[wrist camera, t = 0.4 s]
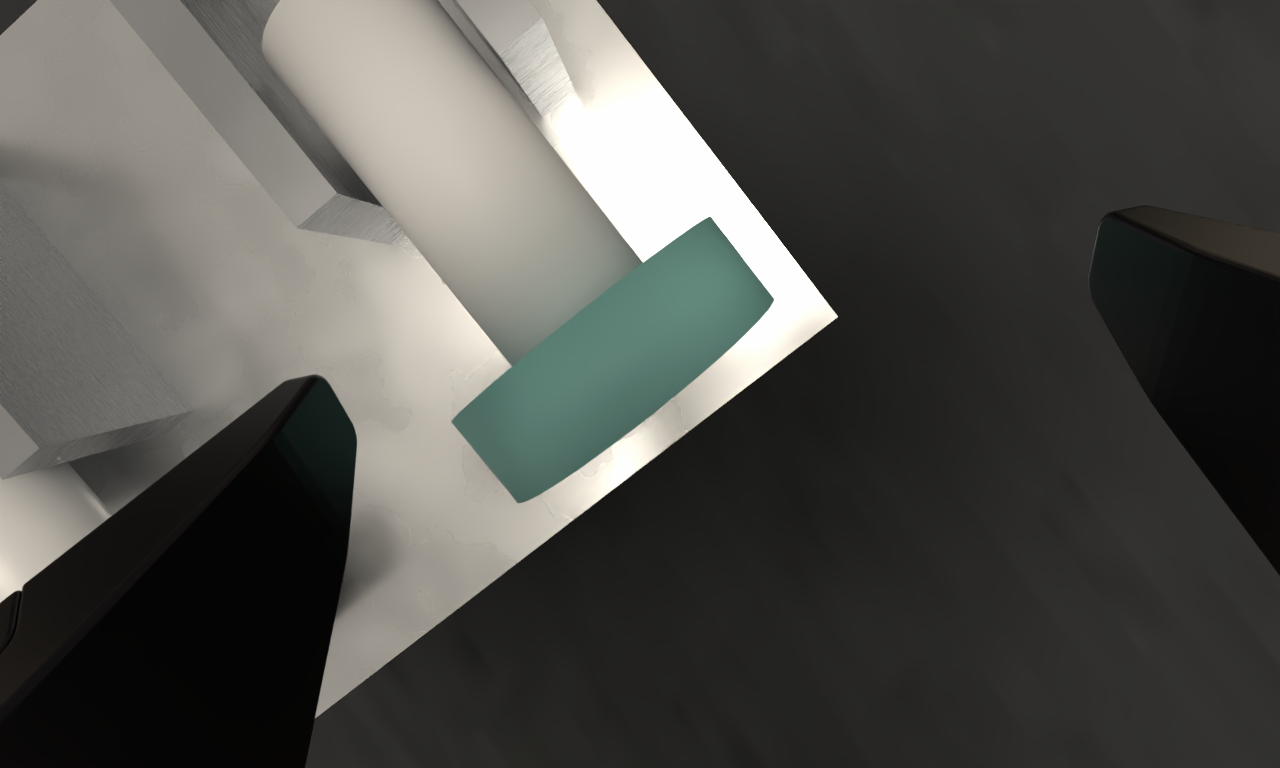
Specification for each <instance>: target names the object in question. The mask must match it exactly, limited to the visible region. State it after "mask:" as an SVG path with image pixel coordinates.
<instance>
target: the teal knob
mask: <svg viewBox="0 0 1280 768" xmlns="http://www.w3.org/2000/svg"><path fill="white" fill-rule="evenodd" d="M262 51H263V55H264V58H265V60H266V62H267V64H268V65H269V66H270V67H271V69H272V70H273V71H274V72H275V74H276V75H277V76H278V77H279V79H280V80H281V81H282V82H283V83H284V85H285V86H286V87H287V88H288V90H289V91H290V92H291V93H292V95H293V96H294V97H295V98H296V100H297V101H298V102H299V103H300V105H301V106H302V107H303V108H304V109H305V111H306V112H307V113H308V114H309V116H310V117H311V118H312V119H313V121H314V122H315V123H316V124H317V126H318V127H319V128H320V129H321V131H322V132H323V133H324V134H325V135H326V137H327V138H328V139H329V140H330V142H331V143H332V144H333V145H334V147H335V148H336V149H337V150H338V152H339V153H340V154H341V155H342V157H343V158H344V159H345V160H346V161H347V163H348V164H349V165H350V166H351V168H352V169H353V170H354V171H355V173H356V174H357V175H358V176H359V178H360V179H361V180H362V181H363V183H364V184H365V185H366V186H367V187H368V189H369V190H370V191H371V192H372V194H373V195H374V196H375V197H376V199H377V200H378V201H379V202H380V204H381V205H382V206H383V207H384V209H385V210H386V211H387V212H388V214H389V215H390V216H391V217H392V218H393V220H394V221H395V222H396V223H397V225H398V226H399V227H400V228H401V230H402V231H403V232H404V233H405V235H406V236H407V237H408V238H409V240H410V241H411V242H412V243H413V244H414V246H415V247H416V248H417V249H418V251H419V252H420V253H421V254H422V256H423V257H424V258H425V259H426V261H427V262H428V263H429V264H430V266H431V267H432V268H433V269H434V270H435V272H436V273H437V274H438V275H439V277H440V278H441V279H442V280H443V282H444V283H445V284H446V285H447V287H448V288H449V289H450V290H451V292H452V293H453V294H454V295H455V296H456V298H457V299H458V300H459V301H460V303H461V304H462V305H463V306H464V308H465V309H466V310H467V311H468V313H469V314H470V315H471V316H472V318H473V319H474V320H475V321H476V322H477V324H478V325H479V326H480V327H481V329H482V330H483V331H484V332H485V334H486V335H487V336H488V337H489V339H490V340H491V341H492V342H493V344H494V345H495V346H496V347H497V349H498V350H499V351H500V352H501V353H502V355H503V356H504V357H505V358H506V360H507V361H508V362H509V363H510V365H511V366H512V367H511V368H509V369H508V370H507V371H506V372H505V373H504V374H502V375H501V376H500V377H499V378H498V379H496V380H495V381H494V382H493V383H492V384H491V385H489V386H488V387H487V388H486V389H485V390H484V391H482V392H481V393H480V394H479V395H478V396H477V397H476V398H474V399H473V400H472V401H471V402H470V403H469V404H468V405H467V406H466V407H465V408H463V409H462V410H461V411H460V412H459V413H458V414H457V415H456V416H455V417H454V418H453V420H452V421H451V422H452V424H453V425H454V426H455V427H456V428H457V430H458V431H459V432H460V433H461V435H462V436H463V437H464V438H465V439H466V441H467V442H468V443H469V444H470V445H471V447H472V448H473V449H474V450H475V452H476V453H477V454H478V455H479V456H480V458H481V459H482V460H483V461H484V463H485V464H486V465H487V466H488V467H489V469H490V470H491V471H492V472H493V474H494V475H495V476H496V477H497V478H498V480H499V481H500V482H501V483H502V485H503V486H504V487H505V488H506V489H507V491H508V492H509V493H510V494H511V495H512V497H513V498H514V499H515V500H516V502H517V503H523V502H526V501H528V500H530V499H532V498H534V497H536V496H538V495H540V494H541V493H543V492H545V491H547V490H548V489H550V488H551V487H553V486H555V485H556V484H558V483H559V482H561V481H562V480H564V479H565V478H567V477H568V476H570V475H571V474H573V473H574V472H576V471H577V470H579V469H580V468H581V467H583V466H584V465H586V464H587V463H588V462H590V461H591V460H593V459H594V458H595V457H597V456H598V455H600V454H601V453H602V452H604V451H605V450H606V449H608V448H609V447H610V446H612V445H613V444H615V443H616V442H617V441H619V440H620V439H621V438H623V437H624V436H625V435H626V434H628V433H629V432H630V431H632V430H633V429H634V428H636V427H637V426H638V425H639V424H641V423H642V422H643V421H645V420H646V419H647V418H648V417H650V416H651V415H652V414H653V413H655V412H656V411H657V410H659V409H660V408H661V407H662V406H663V405H665V404H666V403H667V402H668V401H670V400H671V399H672V398H673V397H675V396H676V395H677V394H678V393H679V392H681V391H682V390H683V389H684V388H685V387H687V386H688V385H689V384H690V383H691V382H693V381H694V380H695V379H696V378H697V377H699V376H700V375H701V374H702V373H703V372H704V371H706V370H707V369H708V368H709V367H710V366H711V365H712V364H714V363H715V362H716V361H717V360H718V359H719V358H720V357H722V356H723V355H724V354H725V353H726V352H727V351H728V350H729V349H730V348H732V347H733V346H734V345H735V344H736V343H737V342H738V341H739V340H740V339H741V338H742V337H743V336H744V335H745V334H746V333H747V332H748V331H749V330H750V329H751V328H752V327H753V326H754V325H755V324H756V323H757V322H758V321H759V320H760V319H761V318H762V317H763V316H764V315H765V314H766V312H767V311H768V310H769V309H770V307H771V306H772V304H773V302H774V298H773V297H772V295H771V294H770V293H769V291H768V290H767V289H766V287H765V286H764V285H763V284H762V282H761V281H760V280H759V278H758V277H757V276H756V274H755V273H754V272H753V271H752V269H751V268H750V267H749V265H748V264H747V263H746V261H745V260H744V259H743V258H742V256H741V255H740V254H739V252H738V251H737V250H736V248H735V247H734V246H733V245H732V243H731V242H730V241H729V239H728V238H727V237H726V235H725V234H724V233H723V232H722V230H721V229H720V228H719V226H718V225H717V224H716V222H715V221H714V220H713V219H712V217H711V216H709V217H707V218H705V219H703V220H702V221H700V222H699V223H697V224H696V225H694V226H693V227H691V228H690V229H688V230H687V231H685V232H684V233H683V234H681V235H680V236H678V237H677V238H676V239H674V240H673V241H671V242H670V243H669V244H667V245H666V246H665V247H663V248H662V249H660V250H659V251H658V252H656V253H655V254H654V255H652V256H651V257H650V258H648V259H647V260H646V261H644V262H642V261H641V259H640V258H639V257H638V256H637V254H636V253H635V252H634V250H633V249H632V248H631V247H630V245H629V244H628V243H627V242H626V240H625V239H624V238H623V236H622V235H621V234H620V233H619V231H618V230H617V229H616V227H615V226H614V225H613V224H612V222H611V221H610V220H609V219H608V217H607V216H606V215H605V213H604V212H603V211H602V210H601V208H600V207H599V206H598V204H597V203H596V202H595V201H594V199H593V198H592V197H591V195H590V194H589V193H588V192H587V190H586V189H585V188H584V187H583V185H582V184H581V183H580V181H579V180H578V179H577V178H576V176H575V175H574V174H573V172H572V171H571V170H570V169H569V167H568V166H567V165H566V164H565V162H564V161H563V160H562V158H561V157H560V156H559V155H558V153H557V152H556V151H555V149H554V148H553V147H552V146H551V144H550V143H549V142H548V140H547V139H546V138H545V137H544V135H543V134H542V133H541V132H540V130H539V129H538V128H537V126H536V125H535V124H534V123H533V121H532V120H531V119H530V117H529V116H528V115H527V114H526V112H525V111H524V110H523V109H522V107H521V106H520V105H519V103H518V102H517V101H516V100H515V98H514V97H513V96H512V94H511V93H510V92H509V91H508V89H507V88H506V87H505V85H504V84H503V83H502V82H501V80H500V79H499V78H498V77H497V75H496V74H495V73H494V71H493V70H492V69H491V68H490V66H489V65H488V64H487V62H486V61H485V60H484V59H483V57H482V56H481V55H480V54H479V52H478V51H477V50H476V48H475V47H474V46H473V45H472V43H471V42H470V41H469V39H468V38H467V37H466V36H465V34H464V33H463V32H462V31H461V29H460V28H459V27H458V25H457V24H456V23H455V22H454V20H453V19H452V18H451V16H450V15H449V14H448V13H447V11H446V10H445V9H444V7H443V6H442V5H441V4H440V2H439V1H438V0H280V1H279V3H278V4H277V5H276V7H275V8H274V10H273V12H272V14H271V15H270V17H269V19H268V22H267V24H266V26H265V30H264V33H263V39H262Z"/></svg>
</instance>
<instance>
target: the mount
mask: <svg viewBox="0 0 1280 768" xmlns="http://www.w3.org/2000/svg"><path fill="white" fill-rule="evenodd" d="M279 1H280V0H38V1H37V2H36V3H34V4H33V5H32V6H31V7H30V8H29V9H28V10H27V11H26V12H25V13H24V14H23V15H22V16H21V17H20V18H19V19H17V20H16V21H15V22H14V23H13V24H12V25H11V26H10V27H9V28H8V29H7V30H6V31H5V32H4V33H3V34H1V35H0V477H1V478H2V480H4V479H8V478H11V477H15V476H18V475H22V474H26V473H29V472H33V471H36V470H40V469H43V468H47V467H50V466H54V465H58V464H61V463H65V462H68V463H69V465H70V466H71V467H72V468H73V469H74V470H75V471H76V473H77V474H78V475H79V476H80V477H81V478H82V479H83V481H84V482H85V483H86V484H87V485H88V486H89V487H90V489H91V490H92V491H93V492H94V493H95V494H96V496H97V497H98V498H99V499H100V500H101V501H102V502H103V504H104V505H105V506H106V507H107V508H108V509H109V510H110V512H111V513H112V514H115V513H116V512H117V511H118V510H120V509H121V508H122V507H124V506H125V505H126V504H127V503H129V502H130V501H131V500H132V499H134V498H135V497H136V496H138V495H139V494H140V493H141V492H143V491H144V490H145V489H147V488H148V487H149V486H150V485H152V484H153V483H154V482H156V481H157V480H158V479H159V478H161V477H162V476H163V475H165V474H166V473H167V472H168V471H170V470H171V469H172V468H173V467H175V466H176V465H177V464H179V463H180V462H181V461H182V460H184V459H185V458H186V457H188V456H189V455H190V454H191V453H193V452H194V451H195V450H197V449H198V448H199V447H200V446H202V445H203V444H204V443H205V442H207V441H208V440H209V439H211V438H212V437H213V436H214V435H216V434H217V433H218V432H220V431H221V430H222V429H223V428H225V427H226V426H227V425H229V424H230V423H231V422H232V421H234V420H235V419H236V418H238V417H239V416H240V415H241V414H243V413H244V412H245V411H246V410H248V409H249V408H250V407H252V406H253V405H254V404H255V403H257V402H258V401H259V400H261V399H262V398H263V397H264V396H266V395H267V394H268V393H270V392H271V391H272V390H273V389H275V388H276V387H277V386H278V385H280V384H281V383H282V382H284V381H286V380H289V379H293V378H298V377H303V376H308V375H313V374H318V375H320V376H323V377H324V378H325V379H326V380H327V381H328V382H329V384H330V385H331V387H332V388H333V390H334V392H335V394H336V395H337V397H338V399H339V401H340V402H341V404H342V406H343V408H344V409H345V411H346V413H347V414H348V416H349V418H350V420H351V421H352V423H353V425H354V428H355V431H356V436H357V453H356V466H355V478H354V491H353V504H352V516H351V529H350V539H349V548H348V555H347V561H346V566H345V572H344V577H343V582H342V587H341V592H340V597H339V601H338V606H337V611H336V616H335V621H334V626H333V631H332V636H331V641H330V646H329V651H328V656H327V661H326V666H325V671H324V676H323V681H322V686H321V690H320V695H319V700H318V705H317V710H316V715H315V718H316V717H317V716H319V715H320V714H321V713H323V712H324V711H325V710H327V709H328V708H329V707H330V706H332V705H333V704H334V703H336V702H337V701H338V700H340V699H341V698H342V697H343V696H345V695H346V694H347V693H349V692H350V691H351V690H353V689H354V688H355V687H357V686H358V685H359V684H360V683H362V682H363V681H364V680H366V679H367V678H368V677H370V676H371V675H372V674H373V673H375V672H376V671H377V670H379V669H380V668H381V667H383V666H384V665H385V664H386V663H388V662H389V661H390V660H392V659H393V658H394V657H396V656H397V655H398V654H399V653H401V652H402V651H403V650H405V649H406V648H407V647H409V646H410V645H411V644H413V643H414V642H415V641H416V640H418V639H419V638H420V637H422V636H423V635H424V634H426V633H427V632H428V631H429V630H431V629H432V628H433V627H435V626H436V625H437V624H439V623H440V622H441V621H442V620H444V619H445V618H446V617H448V616H449V615H450V614H452V613H453V612H454V611H455V610H457V609H458V608H459V607H461V606H462V605H463V604H465V603H466V602H467V601H469V600H470V599H471V598H472V597H474V596H475V595H476V594H478V593H479V592H480V591H482V590H483V589H484V588H485V587H487V586H488V585H489V584H491V583H492V582H493V581H495V580H496V579H497V578H498V577H500V576H501V575H502V574H504V573H505V572H506V571H508V570H509V569H510V568H511V567H513V566H514V565H515V564H517V563H518V562H519V561H521V560H522V559H523V558H525V557H526V556H527V555H528V554H530V553H531V552H532V551H534V550H535V549H536V548H538V547H539V546H540V545H541V544H543V543H544V542H545V541H547V540H548V539H549V538H551V537H552V536H553V535H554V534H556V533H557V532H558V531H560V530H561V529H562V528H564V527H565V526H566V525H567V524H569V523H570V522H571V521H573V520H574V519H575V518H577V517H578V516H579V515H581V514H582V513H583V512H584V511H586V510H587V509H588V508H590V507H591V506H592V505H594V504H595V503H596V502H597V501H599V500H600V499H601V498H603V497H604V496H605V495H607V494H608V493H609V492H610V491H612V490H613V489H614V488H616V487H617V486H618V485H620V484H621V483H622V482H623V481H625V480H626V479H627V478H629V477H630V476H631V475H633V474H634V473H635V472H637V471H638V470H639V469H640V468H642V467H643V466H644V465H646V464H647V463H648V462H650V461H651V460H652V459H653V458H655V457H656V456H657V455H659V454H660V453H661V452H663V451H664V450H665V449H666V448H668V447H669V446H670V445H672V444H673V443H674V442H676V441H677V440H678V439H680V438H681V437H682V436H683V435H685V434H686V433H687V432H689V431H690V430H691V429H693V428H694V427H695V426H696V425H698V424H699V423H700V422H702V421H703V420H704V419H706V418H707V417H708V416H709V415H711V414H712V413H713V412H715V411H716V410H717V409H719V408H720V407H721V406H722V405H724V404H725V403H726V402H728V401H729V400H730V399H732V398H733V397H734V396H736V395H737V394H738V393H739V392H741V391H742V390H743V389H745V388H746V387H747V386H749V385H750V384H751V383H752V382H754V381H755V380H756V379H758V378H759V377H760V376H762V375H763V374H764V373H765V372H767V371H768V370H769V369H771V368H772V367H773V366H775V365H776V364H777V363H778V362H780V361H781V360H782V359H784V358H785V357H786V356H788V355H789V354H790V353H792V352H793V351H794V350H795V349H797V348H798V347H799V346H801V345H802V344H803V343H805V342H806V341H807V340H808V339H810V338H811V337H812V336H814V335H815V334H816V333H818V332H819V331H820V330H821V329H823V328H824V327H825V326H827V325H828V324H829V323H831V322H832V321H833V320H834V319H836V318H837V317H838V316H837V315H836V314H835V312H834V311H833V310H832V308H831V307H830V306H829V304H828V303H827V302H826V300H825V299H824V298H823V297H822V295H821V294H820V293H819V291H818V290H817V289H816V287H815V286H814V285H813V283H812V282H811V281H810V280H809V278H808V277H807V276H806V274H805V273H804V272H803V270H802V269H801V268H800V266H799V265H798V264H797V262H796V261H795V260H794V259H793V257H792V256H791V255H790V253H789V252H788V251H787V249H786V248H785V247H784V245H783V244H782V243H781V242H780V240H779V239H778V238H777V236H776V235H775V234H774V232H773V231H772V230H771V228H770V227H769V226H768V225H767V223H766V222H765V221H764V219H763V218H762V217H761V215H760V214H759V213H758V211H757V210H756V209H755V207H754V206H753V205H752V204H751V202H750V201H749V200H748V198H747V197H746V196H745V194H744V193H743V192H742V190H741V189H740V188H739V187H738V185H737V184H736V183H735V181H734V180H733V179H732V177H731V176H730V175H729V173H728V172H727V171H726V170H725V168H724V167H723V166H722V164H721V163H720V162H719V160H718V159H717V158H716V156H715V155H714V154H713V152H712V151H711V150H710V149H709V147H708V146H707V145H706V143H705V142H704V141H703V139H702V138H701V137H700V135H699V134H698V133H697V132H696V130H695V129H694V128H693V126H692V125H691V124H690V122H689V121H688V120H687V118H686V117H685V116H684V115H683V113H682V112H681V111H680V109H679V108H678V107H677V105H676V104H675V103H674V101H673V100H672V99H671V97H670V96H669V95H668V94H667V92H666V91H665V90H664V88H663V87H662V86H661V84H660V83H659V82H658V80H657V79H656V78H655V77H654V75H653V74H652V73H651V71H650V70H649V69H648V67H647V66H646V65H645V63H644V62H643V61H642V60H641V58H640V57H639V56H638V54H637V53H636V52H635V50H634V49H633V48H632V46H631V45H630V44H629V42H628V41H627V40H626V39H625V37H624V36H623V35H622V33H621V32H620V31H619V29H618V28H617V27H616V25H615V24H614V23H613V22H612V20H611V19H610V18H609V16H608V15H607V14H606V12H605V11H604V10H603V8H602V7H601V6H600V5H599V3H598V2H597V1H596V0H438V1H439V2H440V4H441V5H442V6H443V7H444V9H445V10H446V11H447V13H448V14H449V15H450V16H451V18H452V19H453V20H454V22H455V23H456V24H457V25H458V27H459V28H460V29H461V31H462V32H463V33H464V34H465V36H466V37H467V38H468V39H469V41H470V42H471V43H472V45H473V46H474V47H475V48H476V50H477V51H478V52H479V54H480V55H481V56H482V57H483V59H484V60H485V61H486V62H487V64H488V65H489V66H490V68H491V69H492V70H493V71H494V73H495V74H496V75H497V77H498V78H499V79H500V80H501V82H502V83H503V84H504V85H505V87H506V88H507V89H508V91H509V92H510V93H511V94H512V96H513V97H514V98H515V100H516V101H517V102H518V103H519V105H520V106H521V107H522V109H523V110H524V111H525V112H526V114H527V115H528V116H529V117H530V119H531V120H532V121H533V123H534V124H535V125H536V126H537V128H538V129H539V130H540V132H541V133H542V134H543V135H544V137H545V138H546V139H547V140H548V142H549V143H550V144H551V146H552V147H553V148H554V149H555V151H556V152H557V153H558V155H559V156H560V157H561V158H562V160H563V161H564V162H565V164H566V165H567V166H568V167H569V169H570V170H571V171H572V172H573V174H574V175H575V176H576V178H577V179H578V180H579V181H580V183H581V184H582V185H583V187H584V188H585V189H586V190H587V192H588V193H589V194H590V195H591V197H592V198H593V199H594V201H595V202H596V203H597V204H598V206H599V207H600V208H601V210H602V211H603V212H604V213H605V215H606V216H607V217H608V219H609V220H610V221H611V222H612V224H613V225H614V226H615V227H616V229H617V230H618V231H619V233H620V234H621V235H622V236H623V238H624V239H625V240H626V242H627V243H628V244H629V245H630V247H631V248H632V249H633V250H634V252H635V253H636V254H637V256H638V257H639V258H640V259H641V261H642V262H644V261H646V260H647V259H648V258H650V257H651V256H652V255H654V254H655V253H656V252H658V251H659V250H660V249H662V248H663V247H665V246H666V245H667V244H669V243H670V242H671V241H673V240H674V239H676V238H677V237H678V236H680V235H681V234H683V233H684V232H685V231H687V230H688V229H690V228H691V227H693V226H694V225H696V224H697V223H699V222H700V221H702V220H703V219H705V218H707V217H709V216H711V217H712V219H713V220H714V221H715V222H716V224H717V225H718V226H719V228H720V229H721V230H722V232H723V233H724V234H725V235H726V237H727V238H728V239H729V241H730V242H731V243H732V245H733V246H734V247H735V248H736V250H737V251H738V252H739V254H740V255H741V256H742V258H743V259H744V260H745V261H746V263H747V264H748V265H749V267H750V268H751V269H752V271H753V272H754V273H755V274H756V276H757V277H758V278H759V280H760V281H761V282H762V284H763V285H764V286H765V287H766V289H767V290H768V291H769V293H770V294H771V295H772V297H773V298H774V302H773V304H772V306H771V307H770V309H769V310H768V311H767V312H766V314H765V315H764V316H763V317H762V318H761V319H760V320H759V321H758V322H757V323H756V324H755V325H754V326H753V327H752V328H751V329H750V330H749V331H748V332H747V333H746V334H745V335H744V336H743V337H742V338H741V339H740V340H739V341H738V342H737V343H736V344H735V345H734V346H733V347H732V348H730V349H729V350H728V351H727V352H726V353H725V354H724V355H723V356H722V357H720V358H719V359H718V360H717V361H716V362H715V363H714V364H712V365H711V366H710V367H709V368H708V369H707V370H706V371H704V372H703V373H702V374H701V375H700V376H699V377H697V378H696V379H695V380H694V381H693V382H691V383H690V384H689V385H688V386H687V387H685V388H684V389H683V390H682V391H681V392H679V393H678V394H677V395H676V396H675V397H673V398H672V399H671V400H670V401H668V402H667V403H666V404H665V405H663V406H662V407H661V408H660V409H659V410H657V411H656V412H655V413H653V414H652V415H651V416H650V417H648V418H647V419H646V420H645V421H643V422H642V423H641V424H639V425H638V426H637V427H636V428H634V429H633V430H632V431H630V432H629V433H628V434H626V435H625V436H624V437H623V438H621V439H620V440H619V441H617V442H616V443H615V444H613V445H612V446H610V447H609V448H608V449H606V450H605V451H604V452H602V453H601V454H600V455H598V456H597V457H595V458H594V459H593V460H591V461H590V462H588V463H587V464H586V465H584V466H583V467H581V468H580V469H579V470H577V471H576V472H574V473H573V474H571V475H570V476H568V477H567V478H565V479H564V480H562V481H561V482H559V483H558V484H556V485H555V486H553V487H551V488H550V489H548V490H547V491H545V492H543V493H541V494H540V495H538V496H536V497H534V498H532V499H530V500H528V501H526V502H523V503H517V502H516V500H515V499H514V498H513V497H512V495H511V494H510V493H509V492H508V491H507V489H506V488H505V487H504V486H503V485H502V483H501V482H500V481H499V480H498V478H497V477H496V476H495V475H494V474H493V472H492V471H491V470H490V469H489V467H488V466H487V465H486V464H485V463H484V461H483V460H482V459H481V458H480V456H479V455H478V454H477V453H476V452H475V450H474V449H473V448H472V447H471V445H470V444H469V443H468V442H467V441H466V439H465V438H464V437H463V436H462V435H461V433H460V432H459V431H458V430H457V428H456V427H455V426H454V425H453V424H452V422H451V421H452V420H453V418H454V417H455V416H456V415H457V414H458V413H459V412H460V411H461V410H462V409H463V408H465V407H466V406H467V405H468V404H469V403H470V402H471V401H472V400H473V399H474V398H476V397H477V396H478V395H479V394H480V393H481V392H482V391H484V390H485V389H486V388H487V387H488V386H489V385H491V384H492V383H493V382H494V381H495V380H496V379H498V378H499V377H500V376H501V375H502V374H504V373H505V372H506V371H507V370H508V369H509V368H511V367H512V366H511V365H510V363H509V362H508V361H507V360H506V358H505V357H504V356H503V355H502V353H501V352H500V351H499V350H498V349H497V347H496V346H495V345H494V344H493V342H492V341H491V340H490V339H489V337H488V336H487V335H486V334H485V332H484V331H483V330H482V329H481V327H480V326H479V325H478V324H477V322H476V321H475V320H474V319H473V318H472V316H471V315H470V314H469V313H468V311H467V310H466V309H465V308H464V306H463V305H462V304H461V303H460V301H459V300H458V299H457V298H456V296H455V295H454V294H453V293H452V292H451V290H450V289H449V288H448V287H447V285H446V284H445V283H444V282H443V280H442V279H441V278H440V277H439V275H438V274H437V273H436V272H435V270H434V269H433V268H432V267H431V266H430V264H429V263H428V262H427V261H426V259H425V258H424V257H423V256H422V254H421V253H420V252H419V251H418V249H417V248H416V247H415V246H414V244H413V243H412V242H411V241H410V240H409V238H408V237H407V236H406V235H405V233H404V232H403V231H402V230H401V228H400V227H399V226H398V225H397V223H396V222H395V221H394V220H393V218H392V217H391V216H390V215H389V214H388V212H387V211H386V210H385V209H384V207H383V206H382V205H381V204H380V202H379V201H378V200H377V199H376V197H375V196H374V195H373V194H372V192H371V191H370V190H369V189H368V187H367V186H366V185H365V184H364V183H363V181H362V180H361V179H360V178H359V176H358V175H357V174H356V173H355V171H354V170H353V169H352V168H351V166H350V165H349V164H348V163H347V161H346V160H345V159H344V158H343V157H342V155H341V154H340V153H339V152H338V150H337V149H336V148H335V147H334V145H333V144H332V143H331V142H330V140H329V139H328V138H327V137H326V135H325V134H324V133H323V132H322V131H321V129H320V128H319V127H318V126H317V124H316V123H315V122H314V121H313V119H312V118H311V117H310V116H309V114H308V113H307V112H306V111H305V109H304V108H303V107H302V106H301V105H300V103H299V102H298V101H297V100H296V98H295V97H294V96H293V95H292V93H291V92H290V91H289V90H288V88H287V87H286V86H285V85H284V83H283V82H282V81H281V80H280V79H279V77H278V76H277V75H276V74H275V72H274V71H273V70H272V69H271V67H270V66H269V65H268V64H267V62H266V60H265V58H264V55H263V51H262V39H263V33H264V30H265V26H266V24H267V22H268V19H269V17H270V15H271V14H272V12H273V10H274V8H275V7H276V5H277V4H278V3H279Z"/></svg>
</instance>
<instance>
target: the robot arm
mask: <svg viewBox="0 0 1280 768" xmlns="http://www.w3.org/2000/svg"><path fill="white" fill-rule="evenodd" d="M1088 288H1089V293H1090V296H1091V298H1092V301H1093V303H1094V304H1095V306H1096V308H1097V310H1098V311H1099V313H1100V315H1101V317H1102V318H1103V320H1104V322H1105V324H1106V325H1107V327H1108V329H1109V331H1110V332H1111V334H1112V336H1113V338H1114V339H1115V341H1116V343H1117V345H1118V346H1119V348H1120V350H1121V352H1122V353H1123V355H1124V357H1125V359H1126V360H1127V362H1128V364H1129V366H1130V368H1131V369H1132V371H1133V373H1134V375H1135V376H1136V378H1137V380H1138V382H1139V383H1140V385H1141V387H1142V388H1143V390H1144V391H1145V393H1146V395H1147V396H1148V398H1149V400H1150V401H1151V403H1152V404H1153V406H1154V407H1155V408H1156V410H1157V411H1158V413H1159V414H1160V416H1161V417H1162V418H1163V420H1164V421H1165V422H1166V424H1167V425H1168V426H1169V428H1170V429H1171V431H1172V432H1173V433H1174V435H1175V436H1176V437H1177V439H1178V440H1179V441H1180V443H1181V444H1182V445H1183V447H1184V448H1185V449H1186V451H1187V452H1188V453H1189V455H1190V456H1191V457H1192V459H1193V460H1194V461H1195V463H1196V464H1197V465H1198V467H1199V468H1200V469H1201V471H1202V472H1203V473H1204V475H1205V476H1206V477H1207V479H1208V480H1209V481H1210V483H1211V484H1212V485H1213V487H1214V488H1215V490H1216V491H1217V492H1218V494H1219V495H1220V496H1221V498H1222V499H1223V500H1224V502H1225V503H1226V504H1227V506H1228V507H1229V508H1230V510H1231V511H1232V512H1233V514H1234V515H1235V516H1236V518H1237V519H1238V520H1239V522H1240V523H1241V524H1242V526H1243V527H1244V528H1245V530H1246V531H1247V532H1248V534H1249V535H1250V536H1251V538H1252V539H1253V540H1254V542H1255V543H1256V545H1257V546H1258V547H1259V549H1260V550H1261V551H1262V553H1263V554H1264V555H1265V557H1266V558H1267V559H1268V561H1269V562H1270V563H1271V565H1272V566H1273V567H1274V569H1275V570H1276V571H1277V573H1278V574H1279V575H1280V233H1276V232H1271V231H1266V230H1262V229H1257V228H1252V227H1248V226H1243V225H1238V224H1233V223H1229V222H1224V221H1219V220H1214V219H1210V218H1205V217H1200V216H1196V215H1191V214H1186V213H1181V212H1177V211H1172V210H1167V209H1162V208H1158V207H1153V206H1147V205H1146V206H1137V207H1132V208H1127V209H1122V210H1118V211H1113V212H1110V213H1108V214H1107V215H1105V216H1104V217H1103V218H1102V220H1101V221H1100V223H1099V226H1098V230H1097V235H1096V240H1095V245H1094V250H1093V255H1092V260H1091V265H1090V271H1089V276H1088ZM356 453H357V436H356V431H355V428H354V425H353V423H352V421H351V420H350V418H349V416H348V414H347V413H346V411H345V409H344V408H343V406H342V404H341V402H340V401H339V399H338V397H337V395H336V394H335V392H334V390H333V388H332V387H331V385H330V384H329V382H328V381H327V380H326V379H325V378H324V377H323V376H320V375H318V374H313V375H308V376H303V377H298V378H293V379H289V380H286V381H284V382H282V383H281V384H280V385H278V386H277V387H276V388H275V389H273V390H272V391H271V392H270V393H268V394H267V395H266V396H264V397H263V398H262V399H261V400H259V401H258V402H257V403H255V404H254V405H253V406H252V407H250V408H249V409H248V410H246V411H245V412H244V413H243V414H241V415H240V416H239V417H238V418H236V419H235V420H234V421H232V422H231V423H230V424H229V425H227V426H226V427H225V428H223V429H222V430H221V431H220V432H218V433H217V434H216V435H214V436H213V437H212V438H211V439H209V440H208V441H207V442H205V443H204V444H203V445H202V446H200V447H199V448H198V449H197V450H195V451H194V452H193V453H191V454H190V455H189V456H188V457H186V458H185V459H184V460H182V461H181V462H180V463H179V464H177V465H176V466H175V467H173V468H172V469H171V470H170V471H168V472H167V473H166V474H165V475H163V476H162V477H161V478H159V479H158V480H157V481H156V482H154V483H153V484H152V485H150V486H149V487H148V488H147V489H145V490H144V491H143V492H141V493H140V494H139V495H138V496H136V497H135V498H134V499H132V500H131V501H130V502H129V503H127V504H126V505H125V506H124V507H122V508H121V509H120V510H118V511H117V512H116V513H115V514H113V515H112V516H111V517H109V518H108V519H107V520H106V521H104V522H103V523H102V524H100V525H99V526H98V527H97V528H95V529H94V530H93V531H92V532H90V533H89V534H88V535H86V536H85V537H84V538H83V539H81V540H80V541H79V542H77V543H76V544H75V545H74V546H72V547H71V548H70V549H68V550H67V551H66V552H65V553H63V554H62V555H61V556H60V557H58V558H57V559H56V560H54V561H53V562H52V563H51V564H49V565H48V566H47V567H45V568H44V569H43V570H42V571H40V572H39V573H38V574H36V575H35V576H34V577H33V578H31V579H30V580H29V581H27V582H26V583H25V584H24V585H23V587H22V591H20V590H18V591H15V592H13V593H12V594H11V595H9V596H8V597H7V598H5V599H4V600H3V601H2V602H0V768H305V765H306V760H307V755H308V750H309V745H310V740H311V735H312V730H313V725H314V720H315V715H316V710H317V705H318V700H319V695H320V690H321V686H322V681H323V676H324V671H325V666H326V661H327V656H328V651H329V646H330V641H331V636H332V631H333V626H334V621H335V616H336V611H337V606H338V601H339V597H340V592H341V587H342V582H343V577H344V572H345V566H346V561H347V555H348V548H349V539H350V529H351V516H352V504H353V491H354V478H355V466H356Z"/></svg>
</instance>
